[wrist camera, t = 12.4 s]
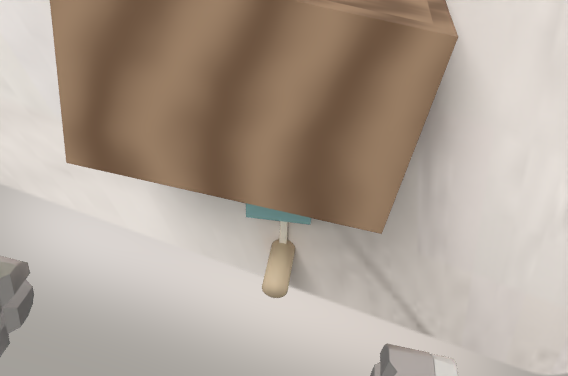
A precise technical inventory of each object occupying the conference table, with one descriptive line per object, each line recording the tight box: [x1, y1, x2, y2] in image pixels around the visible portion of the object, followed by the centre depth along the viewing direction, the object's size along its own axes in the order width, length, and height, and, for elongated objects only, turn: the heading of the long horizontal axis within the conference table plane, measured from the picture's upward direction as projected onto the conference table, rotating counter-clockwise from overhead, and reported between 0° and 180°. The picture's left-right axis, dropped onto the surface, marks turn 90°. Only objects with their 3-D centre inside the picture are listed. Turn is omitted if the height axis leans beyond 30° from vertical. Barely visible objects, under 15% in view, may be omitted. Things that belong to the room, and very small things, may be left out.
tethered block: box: [246, 203, 311, 298], centre depth 47 cm, size 6×14×6 cm, turn 178°
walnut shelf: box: [50, 0, 458, 234], centre depth 36 cm, size 22×14×11 cm, turn 80°
